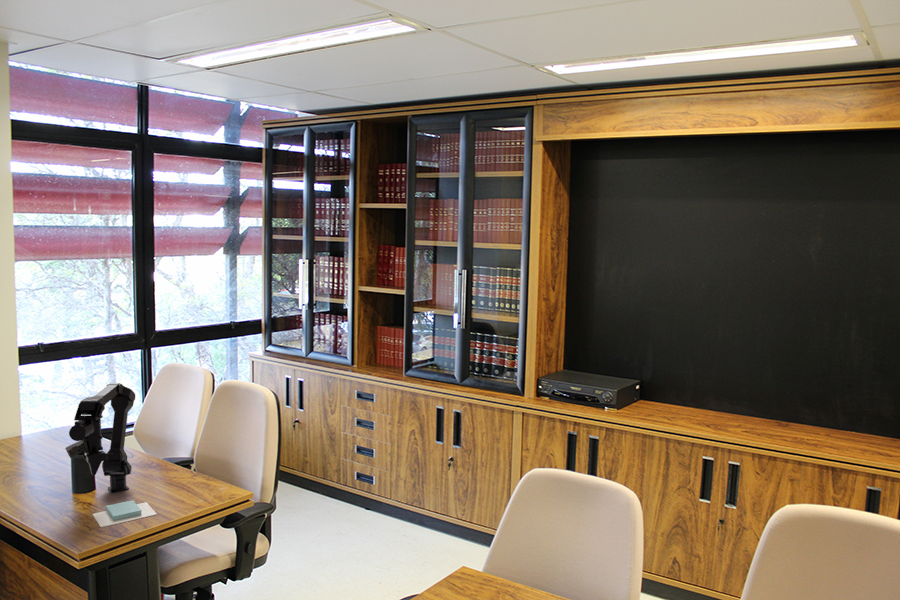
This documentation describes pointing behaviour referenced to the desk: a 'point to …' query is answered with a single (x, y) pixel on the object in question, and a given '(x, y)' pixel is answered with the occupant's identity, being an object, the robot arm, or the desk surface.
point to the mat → (106, 519)
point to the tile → (123, 510)
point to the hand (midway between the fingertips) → (93, 475)
